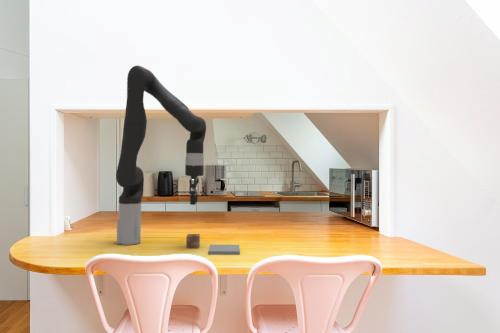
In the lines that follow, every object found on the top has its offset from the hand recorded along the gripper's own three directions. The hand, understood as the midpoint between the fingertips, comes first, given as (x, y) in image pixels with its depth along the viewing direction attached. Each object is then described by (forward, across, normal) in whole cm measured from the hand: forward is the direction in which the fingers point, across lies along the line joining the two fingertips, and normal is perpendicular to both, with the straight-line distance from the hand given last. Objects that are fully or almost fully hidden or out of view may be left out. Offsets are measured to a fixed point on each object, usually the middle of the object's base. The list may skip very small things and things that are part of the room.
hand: (193, 203), depth 160 cm
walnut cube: (+18, 0, 0) cm, 18 cm away
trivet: (+18, +7, +13) cm, 23 cm away
